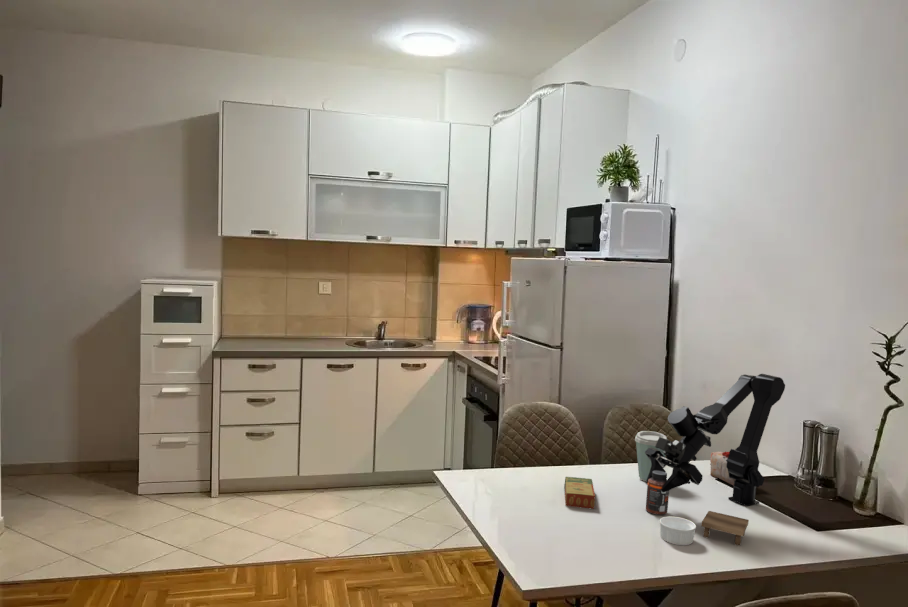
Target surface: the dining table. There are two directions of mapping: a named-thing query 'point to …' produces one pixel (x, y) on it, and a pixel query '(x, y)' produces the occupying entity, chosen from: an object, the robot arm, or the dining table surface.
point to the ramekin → (677, 530)
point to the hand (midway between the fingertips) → (654, 487)
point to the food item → (720, 466)
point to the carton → (579, 492)
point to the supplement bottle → (657, 494)
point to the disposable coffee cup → (642, 444)
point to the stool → (725, 525)
